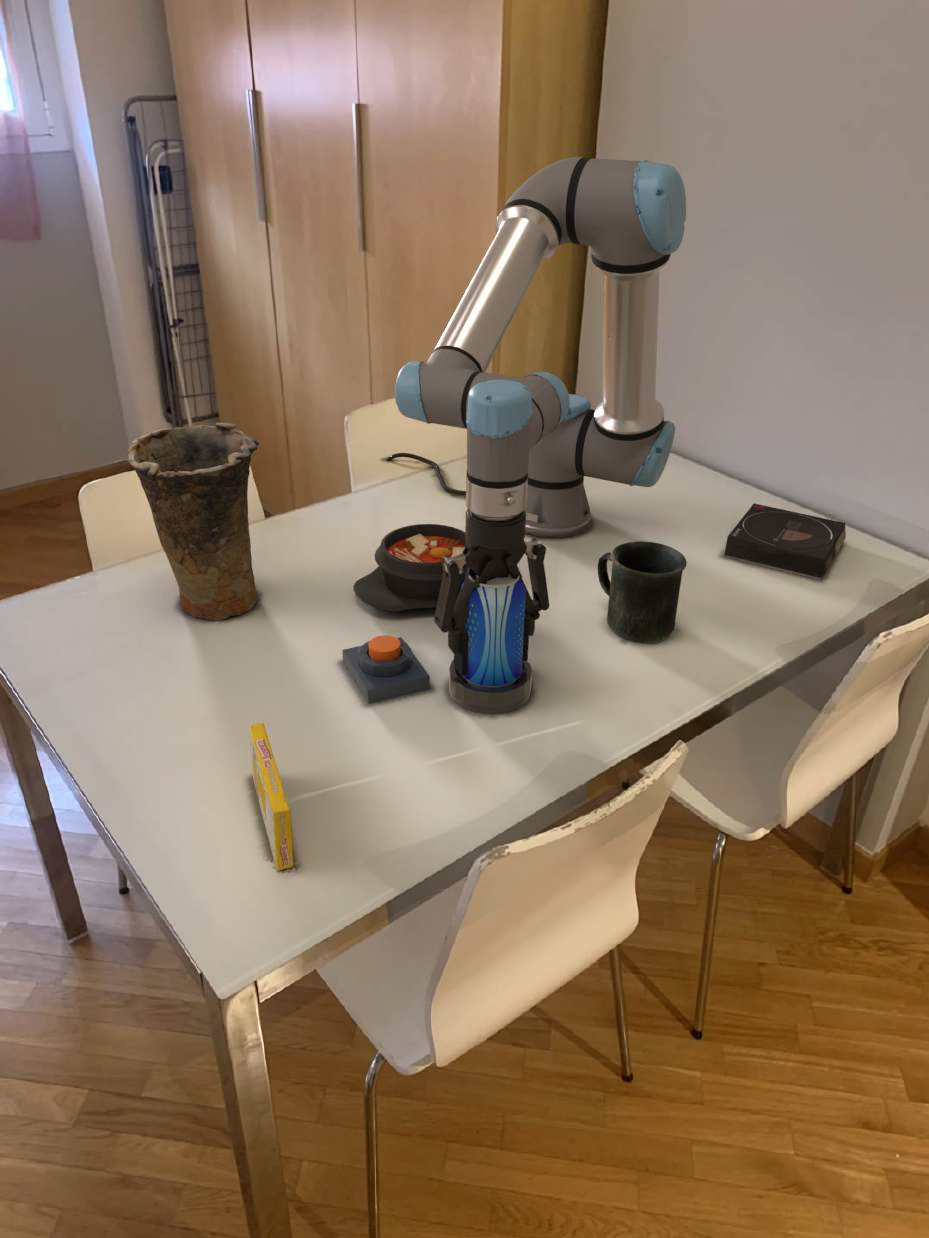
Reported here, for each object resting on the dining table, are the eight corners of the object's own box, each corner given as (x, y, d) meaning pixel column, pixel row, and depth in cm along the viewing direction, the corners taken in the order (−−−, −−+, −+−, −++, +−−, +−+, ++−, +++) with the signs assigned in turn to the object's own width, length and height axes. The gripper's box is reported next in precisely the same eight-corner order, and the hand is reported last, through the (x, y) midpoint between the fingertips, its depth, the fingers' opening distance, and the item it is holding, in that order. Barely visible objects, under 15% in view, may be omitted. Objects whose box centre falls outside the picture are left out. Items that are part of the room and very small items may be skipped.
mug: (646, 654, 143) (655, 582, 137) (572, 616, 152) (578, 547, 146) (691, 629, 149) (702, 559, 143) (618, 594, 158) (625, 527, 152)
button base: (342, 662, 140) (341, 638, 138) (401, 649, 143) (401, 626, 141) (368, 703, 131) (367, 679, 129) (430, 689, 134) (429, 664, 132)
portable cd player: (824, 580, 163) (828, 559, 161) (724, 556, 171) (727, 536, 169) (844, 543, 176) (848, 523, 174) (750, 523, 183) (753, 503, 181)
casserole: (393, 636, 146) (391, 587, 142) (332, 587, 159) (329, 541, 155) (523, 591, 159) (525, 544, 155) (457, 548, 172) (458, 505, 168)
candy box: (296, 867, 105) (290, 809, 101) (276, 872, 104) (270, 813, 100) (270, 775, 118) (264, 720, 114) (252, 779, 118) (245, 724, 113)
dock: (436, 678, 137) (436, 657, 135) (508, 661, 141) (509, 640, 139) (469, 722, 128) (470, 700, 126) (544, 703, 132) (546, 681, 130)
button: (364, 649, 136) (364, 638, 135) (394, 643, 138) (393, 632, 137) (375, 665, 133) (374, 654, 132) (405, 658, 134) (405, 647, 134)
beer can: (457, 661, 137) (458, 559, 128) (517, 659, 137) (522, 558, 129) (462, 695, 129) (464, 590, 121) (525, 693, 130) (531, 588, 122)
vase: (288, 612, 152) (272, 449, 138) (171, 642, 144) (142, 472, 130) (250, 565, 165) (233, 412, 151) (141, 590, 157) (112, 431, 144)
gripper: (428, 535, 114) (429, 695, 125) (585, 507, 121) (572, 660, 133) (405, 511, 120) (408, 665, 131) (556, 485, 127) (546, 633, 139)
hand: (490, 662), depth 132 cm, fingers closed on beer can, 8 cm apart
